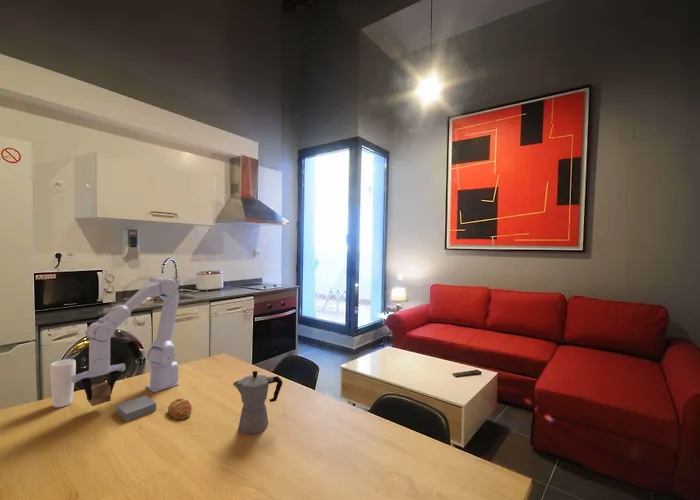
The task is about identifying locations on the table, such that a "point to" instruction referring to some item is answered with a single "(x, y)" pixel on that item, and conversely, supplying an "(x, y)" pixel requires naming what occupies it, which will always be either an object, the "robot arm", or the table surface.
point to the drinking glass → (62, 382)
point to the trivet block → (135, 408)
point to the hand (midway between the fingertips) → (99, 396)
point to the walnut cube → (100, 393)
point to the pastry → (180, 409)
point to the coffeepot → (255, 401)
